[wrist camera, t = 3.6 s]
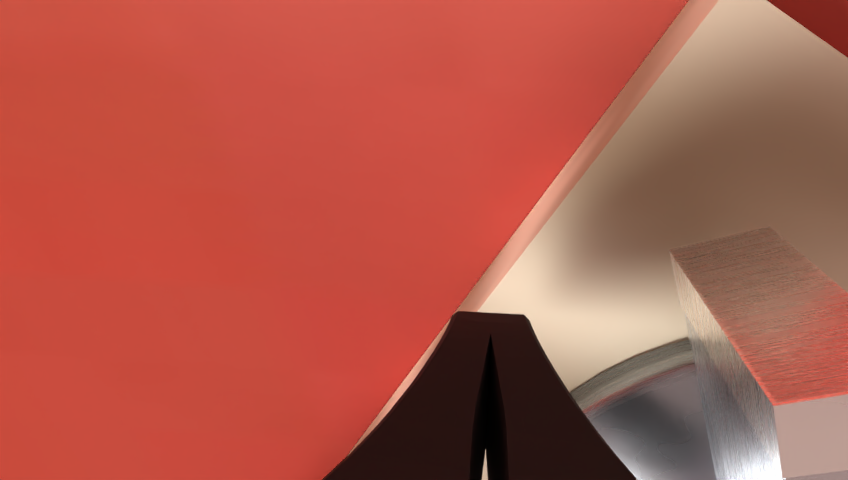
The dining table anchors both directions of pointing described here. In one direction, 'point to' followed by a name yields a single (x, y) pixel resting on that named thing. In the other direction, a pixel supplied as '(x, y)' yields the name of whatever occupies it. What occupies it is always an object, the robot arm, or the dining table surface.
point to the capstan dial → (736, 372)
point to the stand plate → (678, 187)
